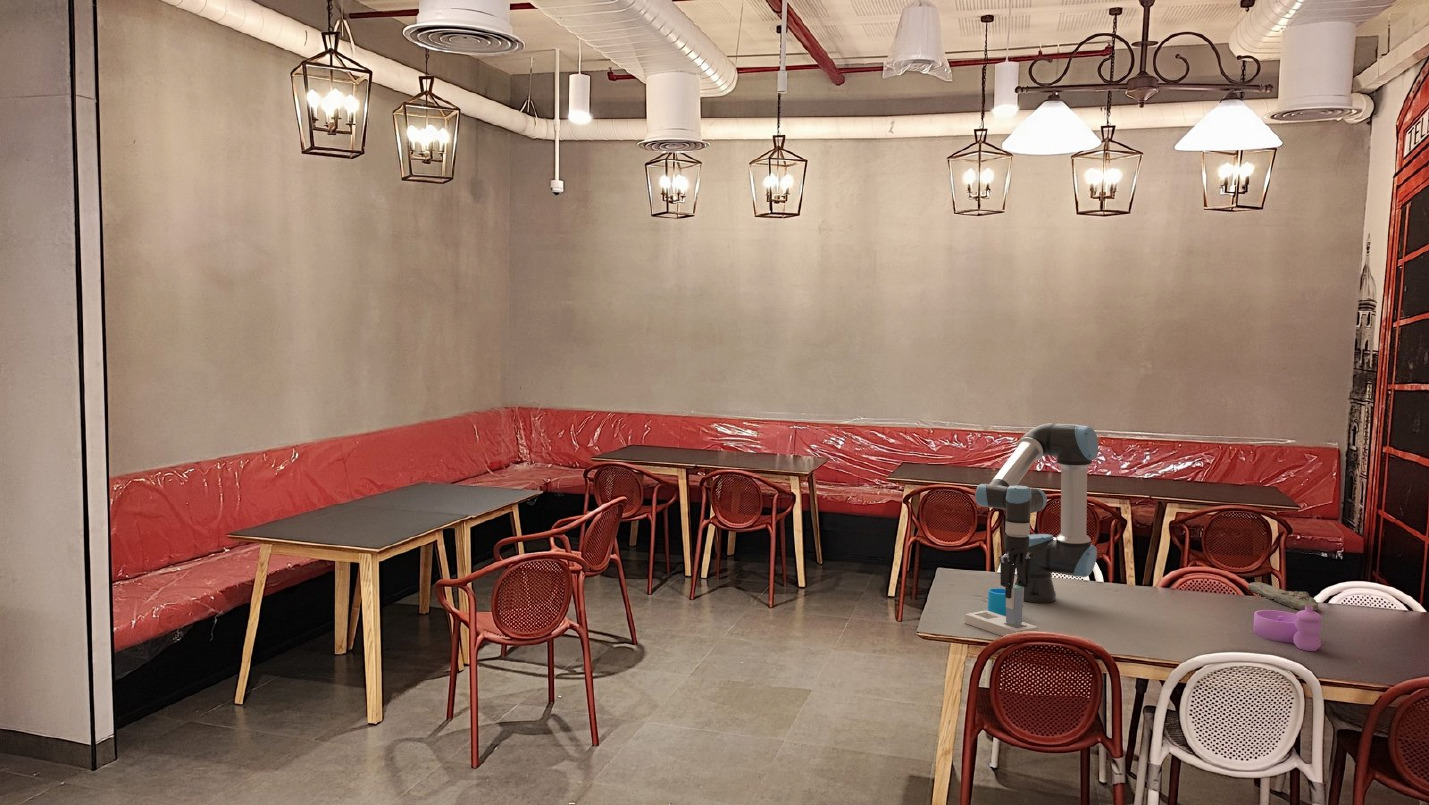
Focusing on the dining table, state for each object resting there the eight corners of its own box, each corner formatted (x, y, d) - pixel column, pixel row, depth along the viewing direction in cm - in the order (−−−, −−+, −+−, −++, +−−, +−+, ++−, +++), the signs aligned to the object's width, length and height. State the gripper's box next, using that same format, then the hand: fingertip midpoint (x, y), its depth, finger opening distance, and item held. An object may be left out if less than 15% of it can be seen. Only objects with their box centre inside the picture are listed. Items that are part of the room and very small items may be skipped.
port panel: (964, 623, 338) (964, 613, 337) (986, 619, 343) (986, 609, 343) (1015, 640, 319) (1016, 630, 319) (1037, 636, 324) (1038, 626, 324)
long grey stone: (1264, 592, 393) (1240, 594, 392) (1263, 578, 393) (1239, 580, 392) (1328, 611, 359) (1301, 613, 358) (1327, 597, 359) (1301, 598, 357)
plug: (1013, 620, 328) (1014, 584, 328) (1021, 623, 325) (1023, 587, 325) (1005, 622, 327) (1007, 585, 326) (1014, 625, 324) (1015, 588, 323)
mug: (1011, 619, 344) (1012, 595, 343) (986, 616, 346) (987, 592, 346) (1013, 610, 355) (1014, 587, 354) (989, 607, 358) (990, 584, 357)
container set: (1243, 629, 337) (1245, 589, 336) (1288, 629, 338) (1290, 589, 337) (1290, 652, 312) (1292, 610, 311) (1338, 652, 313) (1340, 610, 312)
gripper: (1026, 530, 332) (1023, 601, 333) (989, 534, 323) (987, 607, 324) (1044, 534, 325) (1041, 606, 327) (1007, 539, 317) (1005, 613, 318)
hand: (1014, 607), depth 326 cm, fingers closed on plug, 3 cm apart
